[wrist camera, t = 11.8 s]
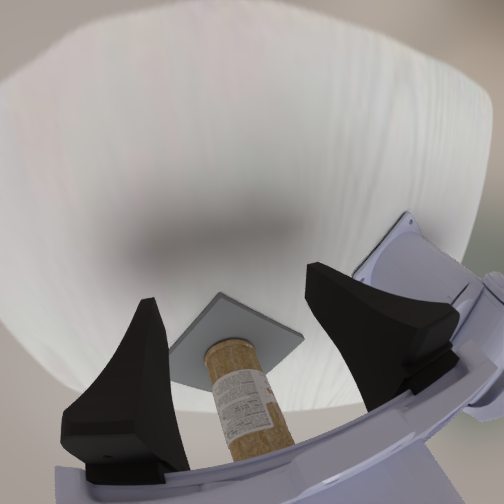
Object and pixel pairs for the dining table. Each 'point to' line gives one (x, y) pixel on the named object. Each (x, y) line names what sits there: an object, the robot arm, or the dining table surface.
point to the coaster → (228, 328)
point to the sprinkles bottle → (245, 401)
